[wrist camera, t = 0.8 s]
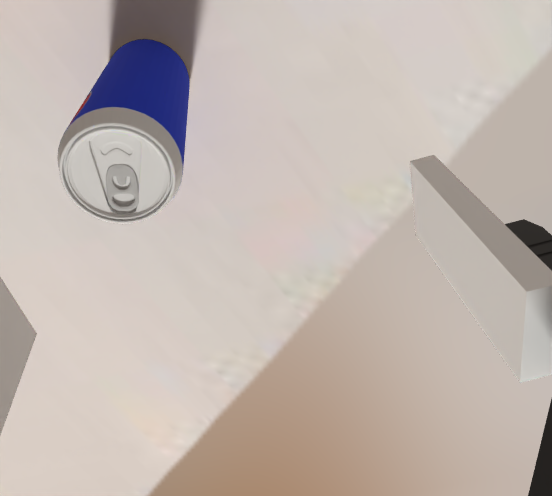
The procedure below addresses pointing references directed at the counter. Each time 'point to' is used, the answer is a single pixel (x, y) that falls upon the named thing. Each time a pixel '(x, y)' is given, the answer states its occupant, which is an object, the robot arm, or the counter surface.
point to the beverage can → (129, 136)
